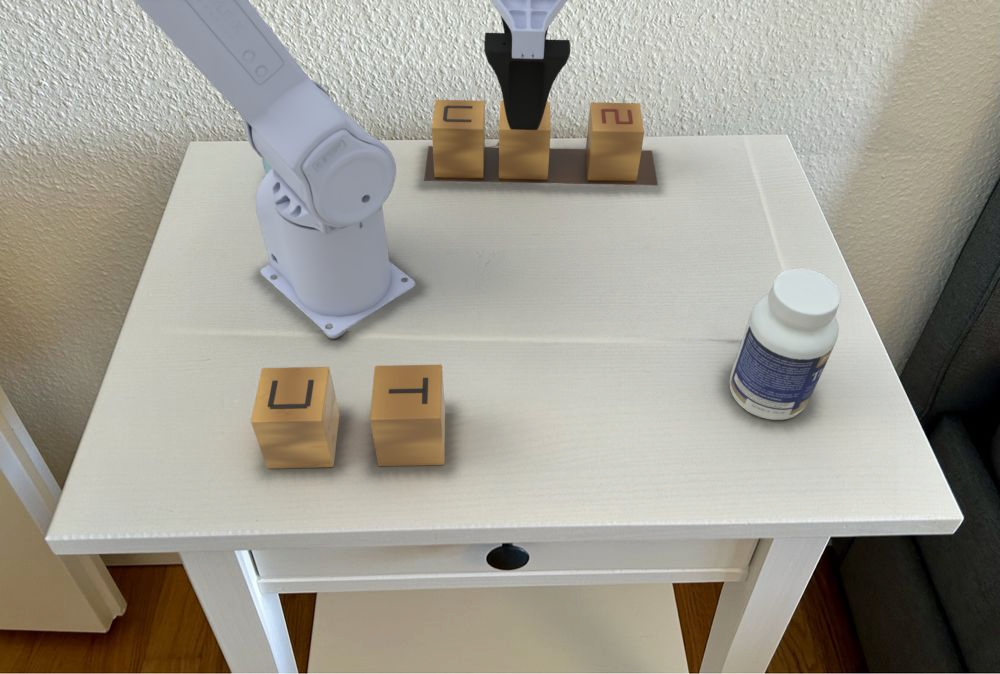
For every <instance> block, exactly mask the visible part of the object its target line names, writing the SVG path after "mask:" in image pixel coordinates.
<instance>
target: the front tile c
mask: <svg viewBox="0 0 1000 674" xmlns="http://www.w3.org/2000/svg"><path fill="white" fill-rule="evenodd" d="M340 413H341V412H340V409H339V405H338V400H337V396H336V392H335V387H334V382H333V378H332V374H331V369H330V366H299V367H295V366H294V367H262V368H261V371H260V376H259V380H258V386H257V390H256V395H255V400H254V405H253V410H252V415H251V418H250V419H251V420H250V423H251V426H252V429H253V432H254V434H255V438H256V440H257V443H258V446H259V449H260V452H261V454H262V457H263V461H264V463H265V467H266V468H267V469H269V470H270V469H309V468H310V469H311V468H315V469H317V468H318V469H319V468H334V466H335V458H336V450H337V442H338V435H339V434H338V432H339V425H340V417H341V414H340Z"/></svg>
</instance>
